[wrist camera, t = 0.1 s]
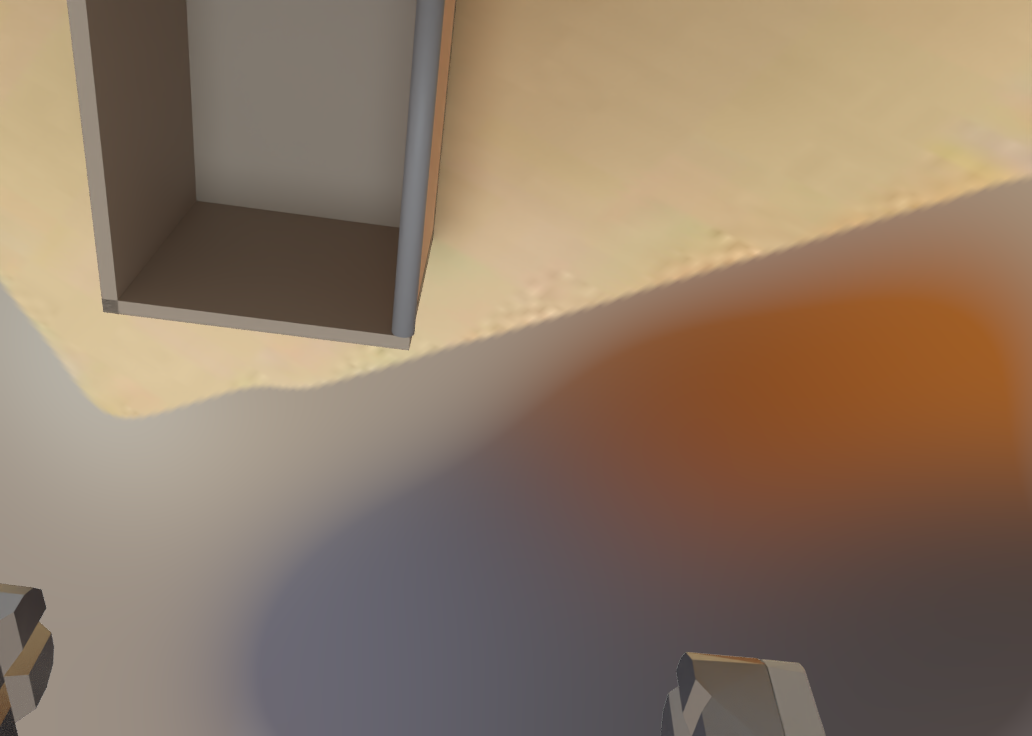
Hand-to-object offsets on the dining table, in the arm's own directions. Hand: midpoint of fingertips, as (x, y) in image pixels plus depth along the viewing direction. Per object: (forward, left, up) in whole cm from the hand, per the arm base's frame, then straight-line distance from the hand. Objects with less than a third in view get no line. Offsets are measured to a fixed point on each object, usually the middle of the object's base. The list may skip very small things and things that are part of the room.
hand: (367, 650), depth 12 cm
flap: (+5, -2, -47) cm, 47 cm away
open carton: (+5, -10, -48) cm, 49 cm away
